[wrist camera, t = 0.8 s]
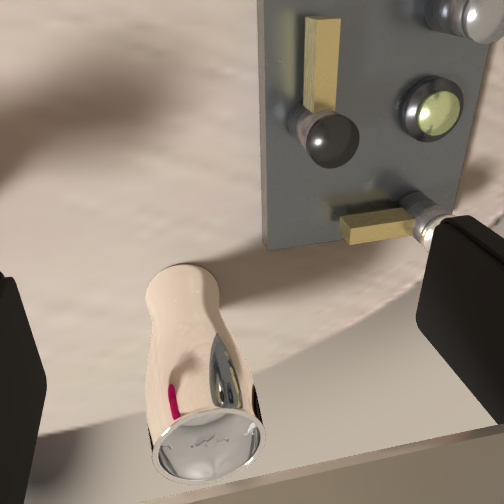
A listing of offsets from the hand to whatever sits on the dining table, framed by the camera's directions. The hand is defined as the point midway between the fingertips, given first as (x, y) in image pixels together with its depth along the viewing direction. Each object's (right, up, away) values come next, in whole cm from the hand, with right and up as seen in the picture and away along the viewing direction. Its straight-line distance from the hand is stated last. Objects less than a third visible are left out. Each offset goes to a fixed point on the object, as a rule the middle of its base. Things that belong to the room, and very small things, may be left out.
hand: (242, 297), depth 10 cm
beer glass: (-6, -2, +29) cm, 29 cm away
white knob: (+11, +4, +27) cm, 29 cm away
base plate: (+9, +12, +24) cm, 28 cm away
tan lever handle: (+4, +12, +20) cm, 24 cm away
